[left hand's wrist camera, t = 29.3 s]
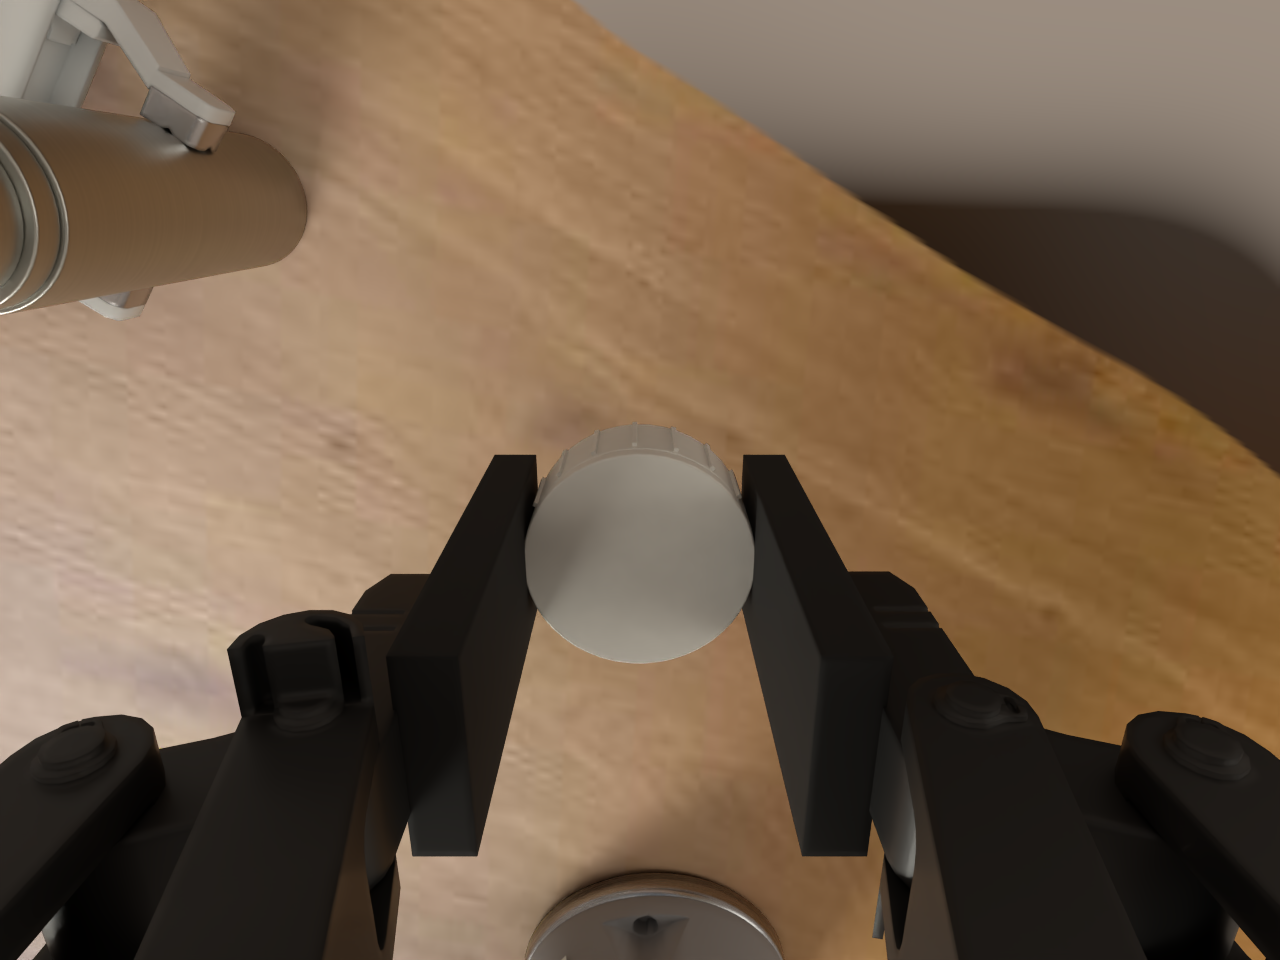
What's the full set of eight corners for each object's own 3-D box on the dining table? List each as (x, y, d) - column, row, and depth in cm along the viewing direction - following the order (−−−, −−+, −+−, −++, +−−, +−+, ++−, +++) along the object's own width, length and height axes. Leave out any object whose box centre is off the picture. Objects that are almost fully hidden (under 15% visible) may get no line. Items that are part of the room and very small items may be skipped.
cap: (784, 551, 15) (802, 596, 13) (608, 649, 15) (604, 702, 14) (675, 379, 13) (679, 404, 12) (490, 493, 14) (471, 532, 13)
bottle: (172, 244, 32) (-482, 312, 13) (187, 114, 30) (-538, -17, 12) (296, 283, 32) (-165, 400, 14) (317, 157, 31) (-175, 98, 12)
